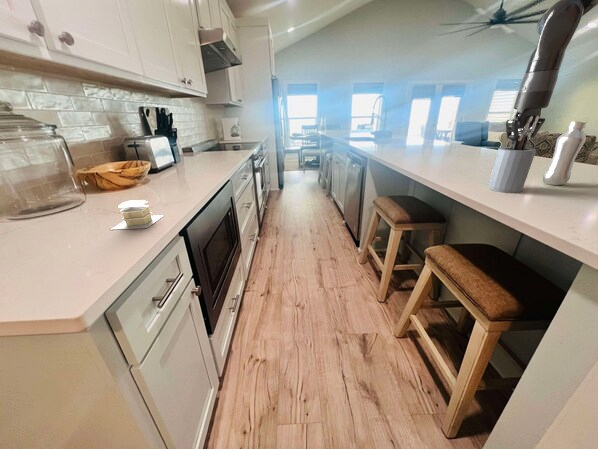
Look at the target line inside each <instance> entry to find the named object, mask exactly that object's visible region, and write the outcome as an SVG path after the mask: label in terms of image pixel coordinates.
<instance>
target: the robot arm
mask: <svg viewBox="0 0 598 449" xmlns="http://www.w3.org/2000/svg"><path fill="white" fill-rule="evenodd" d="M597 6H598V0H557V1H556V2H555V3H553V4H552V6H550V7H549V8H548V9H547V10H546V11H545V12H544V13H543V14H542V15H541V17H540V18H539V20H538V22H537V24H536V33H537V35H538V36H539V37H538V40H537V44H536V46H535V48H534V50H533V51H532V53H531V54H530V57H529V59H528V62H527V65H526V69H525V72H524V75H523V77H522V80H521V82H520V84H519V89H518V92H517V95H516V99H515V102H514V106H513V109H514V110H516V112H515V114H514V116H513V118H512V119H507V120H506V121H505V131H506V139H508V140H510V144H509V146H508V147H509V150H518V149H519V146H520V143H521V139H522V137H523V136H525V139H524V142H523V145H522V148H521V150H524V149H525V148H526V146H527V143H528V141H530V140H531V139H533V138H535V136H536V135H537V134H538V132H539V131H540V129H541V128H542V126H543V125H544V123H545V122H546V118H545V117H541V115H542V109H547V108H548V107H549V105H550V101H551V99H552V96H553V93H554V91H555V88H556V85H557V82H558V78H559V73H560V69H561V67H562V64H563V62H564V58H565V55H566V51H567V49H568V47H569V45H570V43H571V41H572V39H573V37H574V35H575V33H576V31H577V29H578V27H579V25H580V23H581V20H582V18H583V17H584V16H585V15H586V14H587V13H589V12H590V11H591V10H593V9H594V8H595V7H597Z"/></svg>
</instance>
